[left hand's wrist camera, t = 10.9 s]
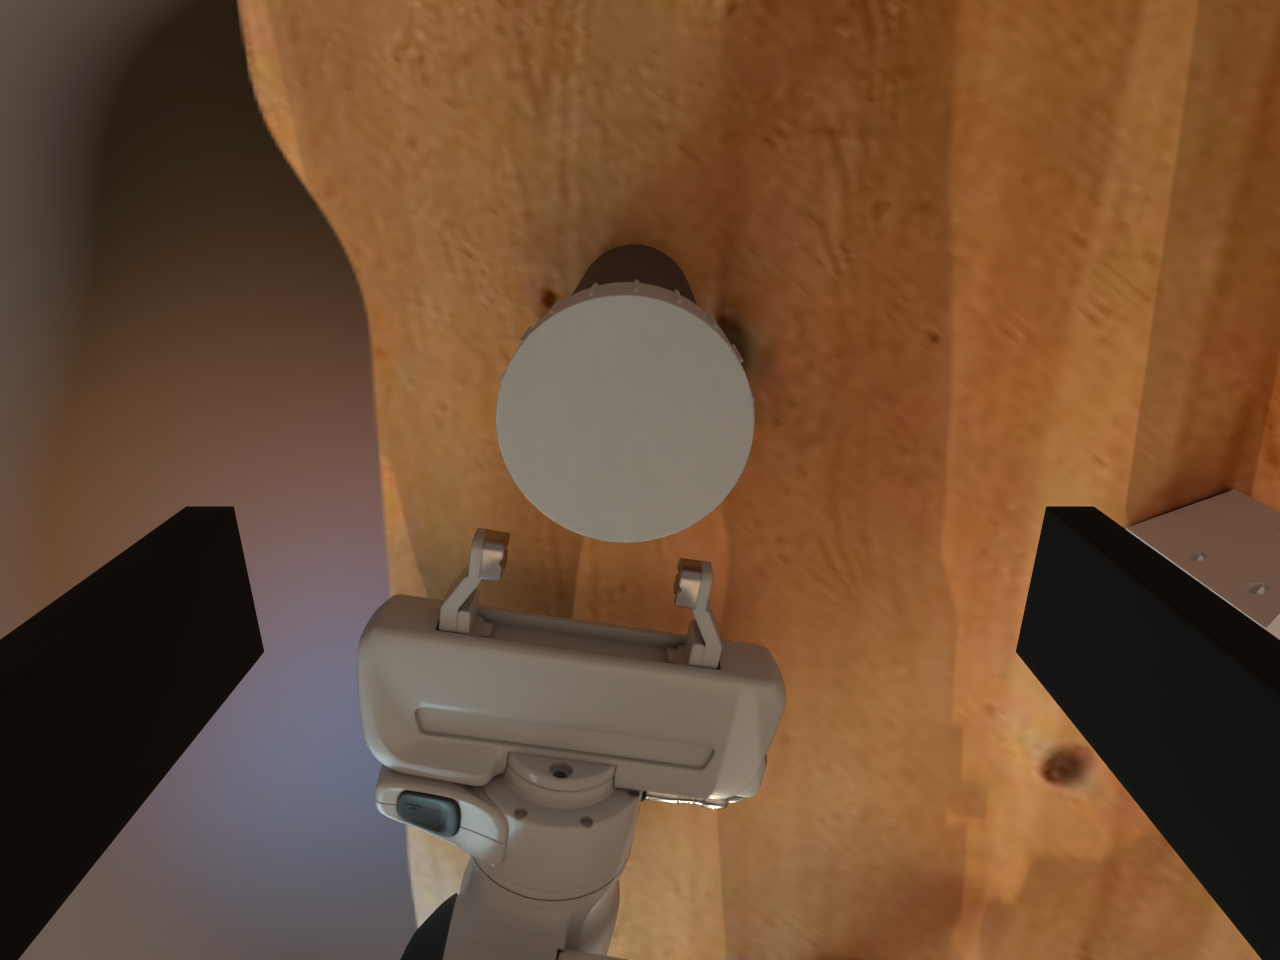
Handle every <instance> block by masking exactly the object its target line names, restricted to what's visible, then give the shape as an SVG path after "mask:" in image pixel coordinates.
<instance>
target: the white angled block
mask: <svg viewBox="0 0 1280 960" xmlns="http://www.w3.org/2000/svg"><path fill="white" fill-rule="evenodd" d="M1126 530H1127V531H1129V532H1130V533H1131V534H1133V535H1134V536H1135V537H1137V538H1138V539H1140V540H1141V541H1142V542H1144V543H1145V544H1147V545H1148V546H1149V547H1151V548H1152V549H1154V550H1155V551H1156V552H1158V553H1159V554H1161V555H1162V556H1163V557H1165V558H1166V559H1168V560H1169V561H1170V562H1172V563H1173V564H1175V565H1176V566H1177V567H1179V568H1180V569H1182V570H1183V571H1184V572H1186V573H1187V574H1189V575H1190V576H1191V577H1193V578H1194V579H1196V580H1197V581H1198V582H1200V583H1201V584H1203V585H1204V586H1205V587H1207V588H1208V589H1209V590H1211V591H1212V592H1214V593H1215V594H1216V595H1218V596H1219V597H1221V598H1222V599H1223V600H1225V601H1226V602H1228V603H1229V604H1230V605H1232V606H1233V607H1235V608H1236V609H1237V610H1239V611H1240V612H1242V613H1243V614H1244V615H1246V616H1247V617H1249V618H1250V619H1251V620H1253V621H1254V622H1256V623H1257V624H1258V625H1260V626H1261V627H1263V628H1264V629H1265V630H1267V631H1268V632H1270V633H1271V634H1272V635H1274V636H1275V637H1276V638H1278V639H1279V640H1280V512H1278V511H1276V510H1274V509H1272V508H1270V507H1268V506H1266V505H1264V504H1262V503H1260V502H1258V501H1256V500H1255V499H1253V498H1251V497H1249V496H1247V495H1245V494H1243V493H1241V492H1239V491H1237V490H1235V489H1234V490H1231V491H1229V492H1226V493H1223V494H1220V495H1217V496H1214V497H1212V498H1209V499H1206V500H1203V501H1200V502H1197V503H1195V504H1192V505H1189V506H1186V507H1183V508H1180V509H1178V510H1175V511H1172V512H1169V513H1166V514H1164V515H1161V516H1158V517H1155V518H1152V519H1149V520H1147V521H1144V522H1141V523H1138V524H1135V525H1132V526H1130V527H1127V528H1126Z"/></svg>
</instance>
